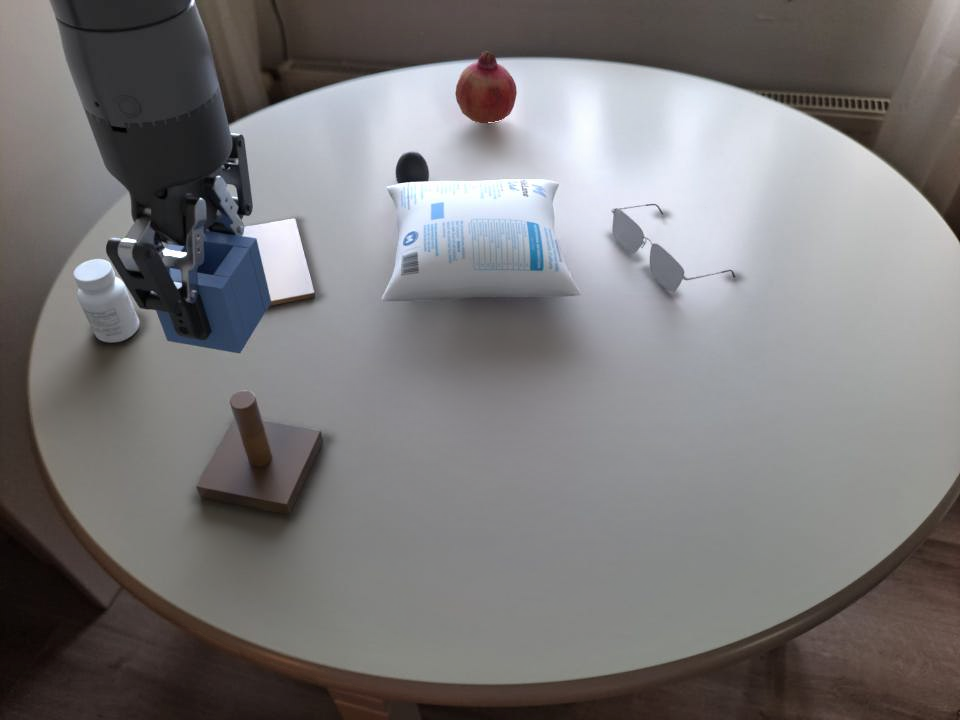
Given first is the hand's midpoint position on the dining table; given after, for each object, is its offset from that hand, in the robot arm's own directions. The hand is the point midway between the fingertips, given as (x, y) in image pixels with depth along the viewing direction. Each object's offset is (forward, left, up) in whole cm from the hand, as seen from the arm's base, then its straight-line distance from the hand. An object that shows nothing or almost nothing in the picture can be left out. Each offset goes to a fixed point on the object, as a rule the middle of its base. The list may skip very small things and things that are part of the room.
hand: (215, 305), depth 58 cm
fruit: (+37, +49, -18) cm, 64 cm away
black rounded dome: (+23, +37, -18) cm, 47 cm away
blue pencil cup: (0, 0, -1) cm, 1 cm away
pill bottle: (-12, +21, -18) cm, 30 cm away
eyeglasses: (+47, +15, -18) cm, 53 cm away
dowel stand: (0, -1, -18) cm, 18 cm away
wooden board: (+1, +27, -18) cm, 32 cm away
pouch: (+26, +20, -18) cm, 37 cm away
